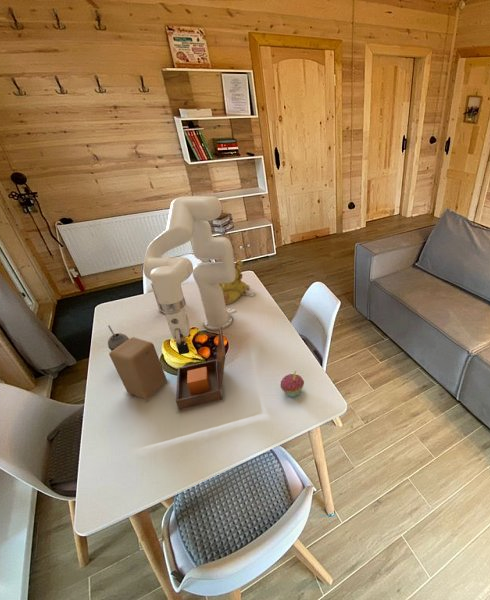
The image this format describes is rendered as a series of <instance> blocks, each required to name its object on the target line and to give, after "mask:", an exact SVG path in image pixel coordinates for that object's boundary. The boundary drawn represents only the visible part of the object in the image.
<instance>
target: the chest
mask: <svg viewBox="0 0 490 600" xmlns="http://www.w3.org/2000/svg"><path fill="white" fill-rule="evenodd" d="M202 367H207V371H208V374H209V378H210V391H209V392H205V393H201V394H197V395H193V396H191V393H190V390H189V387H188V384H187V371H189V370H193V369H198V368H202ZM175 391H176V394H175V403H176V405H177V408H178V410H179V411H182V410H185V409H191V408H193V407H197V406H202V405H205V404H209V403H213V402H217V401H220V400H223V392H222V391H223V390H222V388H221V390H219V387H218V374H217V361H216V359H212V360H207V361H202V362H198V363H193V364H188V365H184V366H180V367H179V366H178V367H177V376H176V390H175Z"/></svg>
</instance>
